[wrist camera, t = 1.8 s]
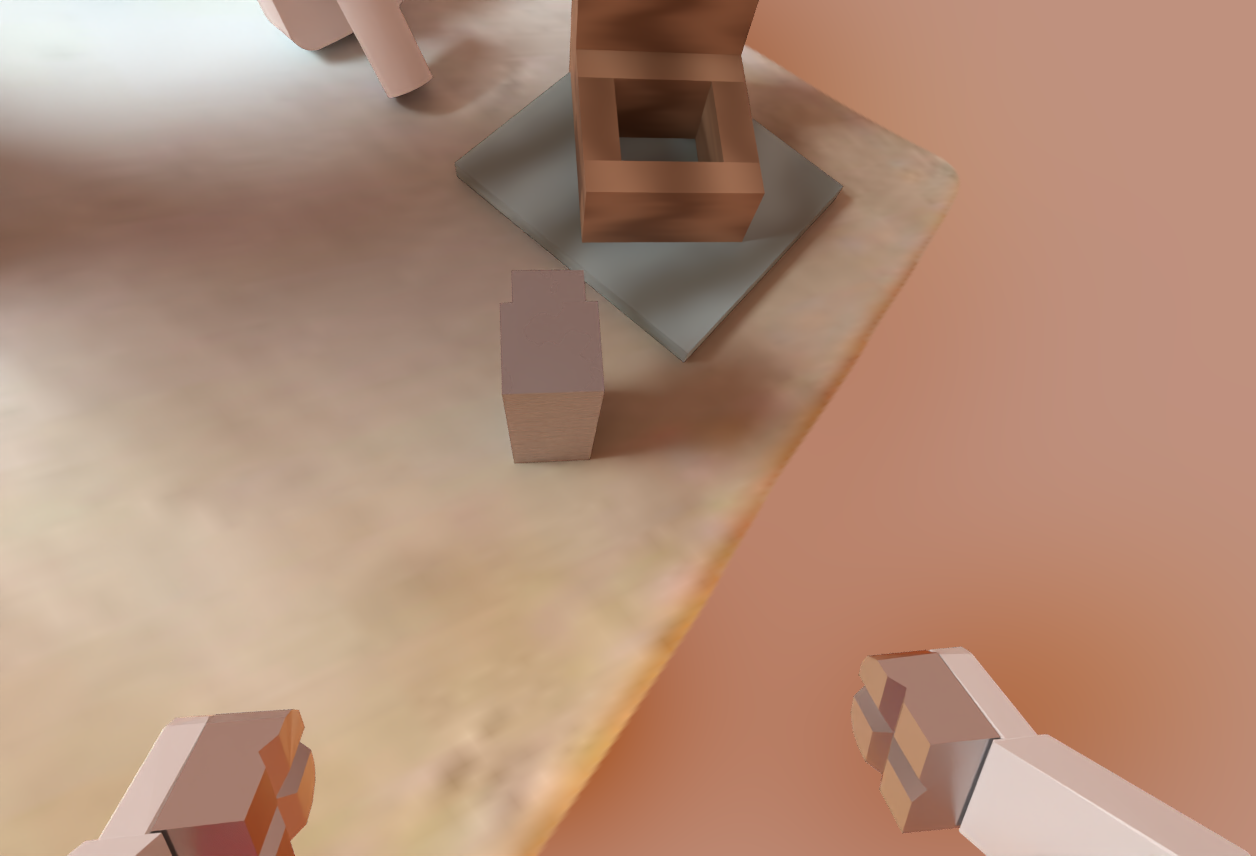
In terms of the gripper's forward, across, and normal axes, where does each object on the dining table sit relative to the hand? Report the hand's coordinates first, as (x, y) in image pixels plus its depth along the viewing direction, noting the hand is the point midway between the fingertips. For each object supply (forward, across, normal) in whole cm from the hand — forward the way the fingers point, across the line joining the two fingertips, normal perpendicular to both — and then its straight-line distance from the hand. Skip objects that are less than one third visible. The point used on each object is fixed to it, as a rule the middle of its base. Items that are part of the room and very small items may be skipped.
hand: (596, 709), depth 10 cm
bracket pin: (+26, 0, +8) cm, 27 cm away
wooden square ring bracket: (+37, -7, -3) cm, 37 cm away
